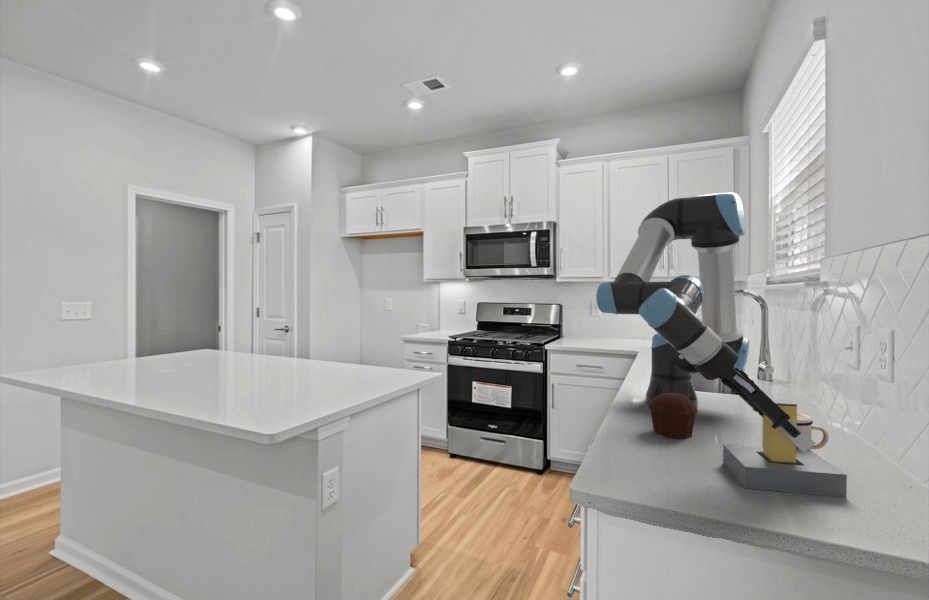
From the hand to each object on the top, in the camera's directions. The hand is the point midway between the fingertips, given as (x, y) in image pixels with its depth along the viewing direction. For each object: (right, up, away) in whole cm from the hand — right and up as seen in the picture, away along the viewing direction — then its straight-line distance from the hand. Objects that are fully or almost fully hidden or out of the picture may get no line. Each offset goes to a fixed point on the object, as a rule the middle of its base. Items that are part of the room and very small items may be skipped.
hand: (802, 442), depth 85 cm
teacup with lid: (+7, -7, +12) cm, 16 cm away
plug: (-4, -3, +1) cm, 5 cm away
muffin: (-11, -7, +29) cm, 32 cm away
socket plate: (-3, -7, +1) cm, 8 cm away
